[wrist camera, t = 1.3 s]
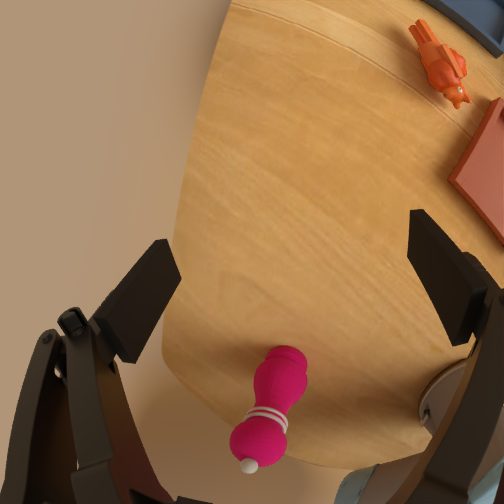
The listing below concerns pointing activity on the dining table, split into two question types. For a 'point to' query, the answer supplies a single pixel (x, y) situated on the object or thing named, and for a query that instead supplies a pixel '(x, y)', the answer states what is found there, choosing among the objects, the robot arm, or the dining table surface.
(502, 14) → the blue tray
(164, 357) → the dining table surface
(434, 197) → the dining table surface
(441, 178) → the dining table surface
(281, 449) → the pepper mill
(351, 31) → the dining table surface
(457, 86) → the orange toy bird
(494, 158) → the terracotta tray
